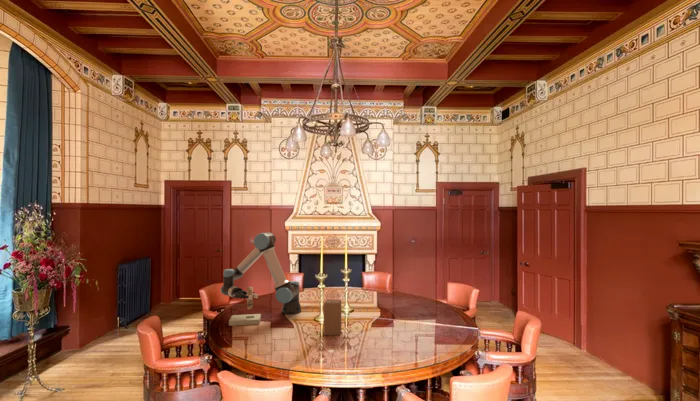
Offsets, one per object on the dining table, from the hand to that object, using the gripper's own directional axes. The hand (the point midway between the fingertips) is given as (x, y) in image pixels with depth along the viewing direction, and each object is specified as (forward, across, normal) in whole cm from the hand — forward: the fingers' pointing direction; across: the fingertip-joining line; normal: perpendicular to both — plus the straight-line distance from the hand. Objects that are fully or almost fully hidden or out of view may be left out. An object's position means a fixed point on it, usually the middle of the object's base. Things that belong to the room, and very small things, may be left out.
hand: (254, 297), depth 243 cm
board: (-7, +2, -18) cm, 19 cm away
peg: (-5, 0, -9) cm, 10 cm away
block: (+56, -19, -18) cm, 62 cm away
